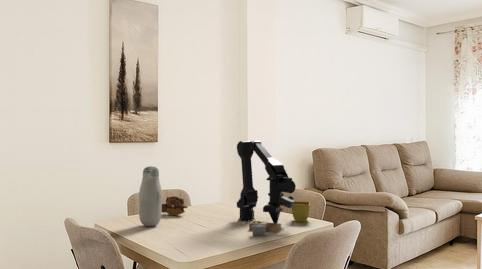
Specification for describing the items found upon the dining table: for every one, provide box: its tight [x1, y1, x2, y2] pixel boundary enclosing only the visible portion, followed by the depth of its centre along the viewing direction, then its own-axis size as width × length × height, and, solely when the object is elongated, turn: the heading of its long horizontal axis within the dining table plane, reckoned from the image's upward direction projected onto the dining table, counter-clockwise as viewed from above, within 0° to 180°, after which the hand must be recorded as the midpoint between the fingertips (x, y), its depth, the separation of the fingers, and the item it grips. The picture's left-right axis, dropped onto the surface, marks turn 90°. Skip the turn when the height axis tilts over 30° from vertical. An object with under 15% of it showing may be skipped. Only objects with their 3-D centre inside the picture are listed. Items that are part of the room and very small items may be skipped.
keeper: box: [252, 224, 267, 238], centre depth 175 cm, size 4×6×4 cm
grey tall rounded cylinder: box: [138, 165, 163, 227], centre depth 192 cm, size 10×10×28 cm
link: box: [248, 220, 282, 233], centre depth 184 cm, size 13×5×3 cm, turn 67°
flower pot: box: [291, 200, 311, 223], centre depth 204 cm, size 9×9×9 cm
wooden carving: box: [161, 195, 189, 216], centre depth 217 cm, size 16×5×10 cm, turn 72°
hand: (275, 224), depth 189 cm, fingers closed
